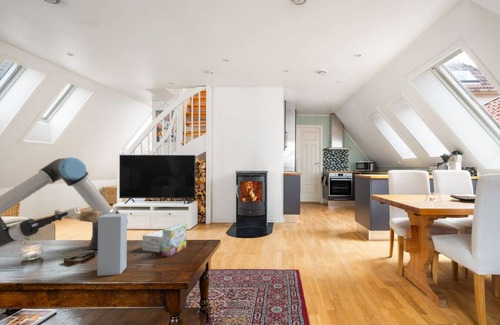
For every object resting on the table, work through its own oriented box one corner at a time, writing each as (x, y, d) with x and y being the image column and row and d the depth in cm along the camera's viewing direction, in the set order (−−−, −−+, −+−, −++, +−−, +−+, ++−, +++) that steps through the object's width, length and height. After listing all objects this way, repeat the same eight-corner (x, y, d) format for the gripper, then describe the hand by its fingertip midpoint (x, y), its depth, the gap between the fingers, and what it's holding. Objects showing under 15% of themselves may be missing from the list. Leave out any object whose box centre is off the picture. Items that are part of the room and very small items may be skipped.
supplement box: (159, 252, 162) (159, 236, 162) (142, 250, 167) (142, 235, 167) (176, 245, 178) (176, 231, 178) (160, 243, 183) (160, 229, 183)
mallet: (51, 217, 126) (53, 207, 126) (59, 215, 132) (61, 206, 133) (95, 222, 129) (97, 213, 129) (100, 220, 136) (102, 211, 136)
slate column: (97, 275, 126) (98, 217, 127) (105, 268, 135) (106, 214, 136) (120, 274, 127) (120, 216, 128) (126, 266, 137) (127, 213, 138)
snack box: (170, 257, 153) (170, 230, 153) (161, 256, 154) (161, 229, 155) (186, 246, 174) (186, 223, 174) (178, 246, 175) (178, 223, 175)
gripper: (37, 232, 134) (86, 214, 139) (16, 240, 119) (72, 219, 123) (32, 218, 134) (81, 201, 139) (10, 224, 118) (66, 204, 123)
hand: (77, 210), depth 131 cm, fingers closed on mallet, 3 cm apart
